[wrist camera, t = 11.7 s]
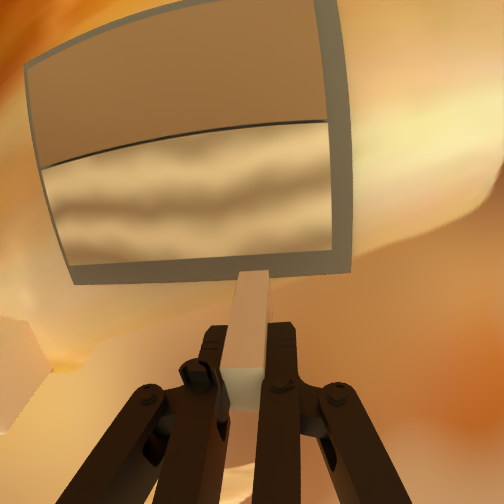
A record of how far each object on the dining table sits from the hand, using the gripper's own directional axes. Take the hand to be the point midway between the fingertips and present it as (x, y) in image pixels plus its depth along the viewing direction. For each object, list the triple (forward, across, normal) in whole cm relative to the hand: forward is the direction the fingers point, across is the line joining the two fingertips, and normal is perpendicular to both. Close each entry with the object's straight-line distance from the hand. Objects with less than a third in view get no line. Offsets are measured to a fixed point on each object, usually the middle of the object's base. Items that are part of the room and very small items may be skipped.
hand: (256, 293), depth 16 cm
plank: (+15, -9, +1) cm, 18 cm away
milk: (+17, -50, -22) cm, 57 cm away
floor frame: (+16, -9, +8) cm, 20 cm away
